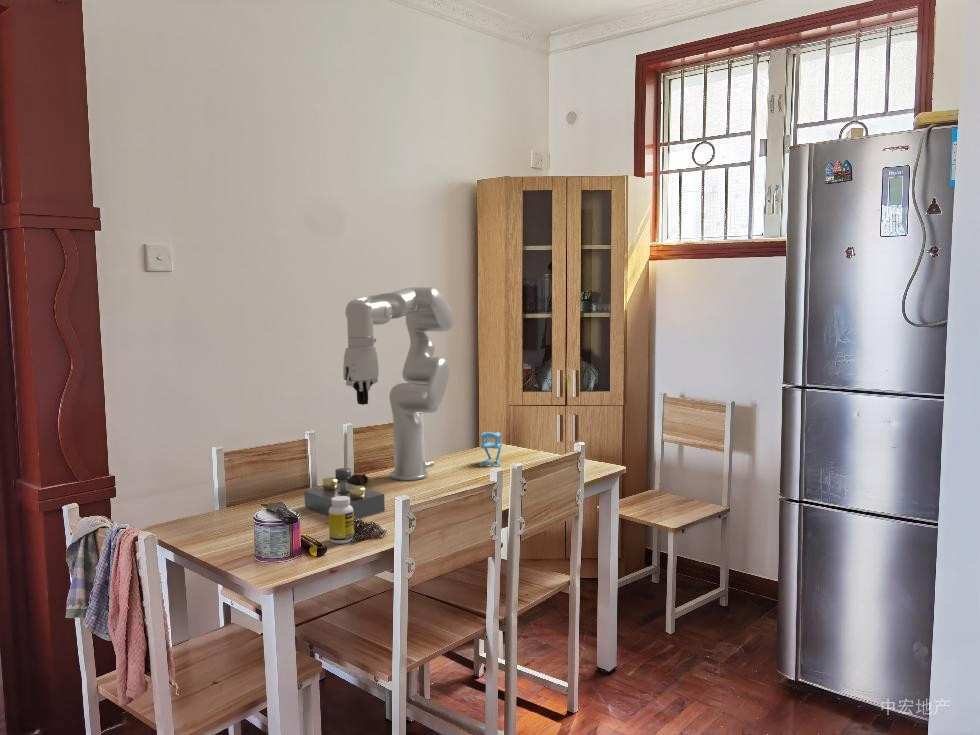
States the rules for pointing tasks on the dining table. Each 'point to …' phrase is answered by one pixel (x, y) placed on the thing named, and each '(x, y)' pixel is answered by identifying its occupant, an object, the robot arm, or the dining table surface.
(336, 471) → the knob middle
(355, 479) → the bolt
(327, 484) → the knob
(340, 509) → the pill bottle
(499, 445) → the chair
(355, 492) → the knob
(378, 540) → the dining table surface
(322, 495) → the mount
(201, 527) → the dining table surface
